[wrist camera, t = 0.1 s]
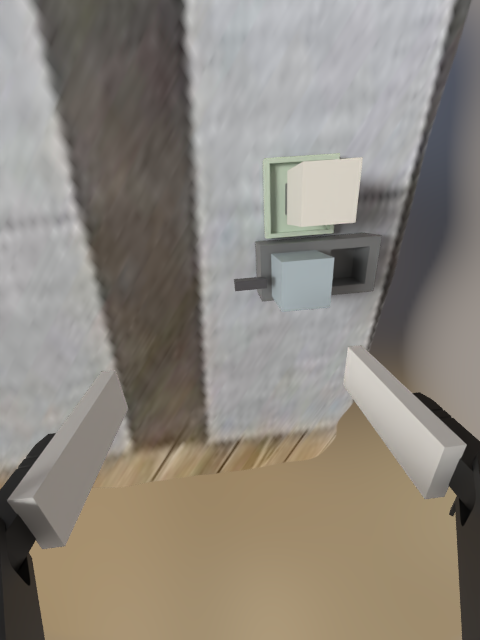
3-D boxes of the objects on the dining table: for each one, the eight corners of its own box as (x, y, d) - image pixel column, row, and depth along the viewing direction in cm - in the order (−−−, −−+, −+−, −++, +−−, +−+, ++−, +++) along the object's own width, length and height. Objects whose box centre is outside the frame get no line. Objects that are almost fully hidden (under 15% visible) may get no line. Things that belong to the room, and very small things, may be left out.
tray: (262, 160, 34) (264, 158, 32) (334, 156, 34) (340, 153, 33) (264, 237, 38) (266, 238, 36) (328, 232, 38) (333, 233, 37)
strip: (229, 243, 38) (233, 257, 27) (362, 232, 39) (419, 241, 28) (233, 293, 41) (238, 323, 30) (356, 282, 42) (405, 307, 31)
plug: (278, 176, 34) (302, 161, 24) (320, 173, 34) (362, 157, 24) (278, 222, 37) (301, 226, 27) (318, 219, 37) (355, 222, 27)
